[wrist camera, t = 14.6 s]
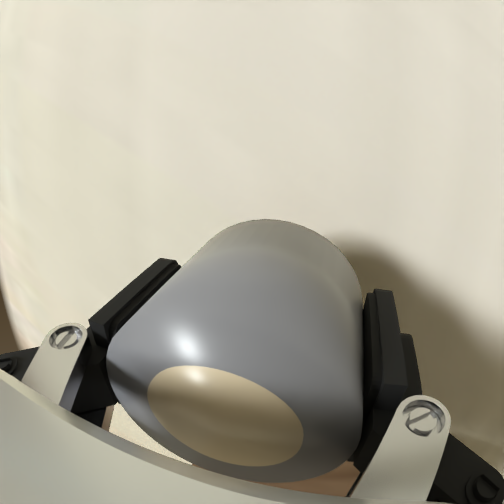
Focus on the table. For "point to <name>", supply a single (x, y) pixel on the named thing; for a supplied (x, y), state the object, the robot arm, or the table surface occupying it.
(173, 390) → the grey tapered cylinder
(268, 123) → the table surface
